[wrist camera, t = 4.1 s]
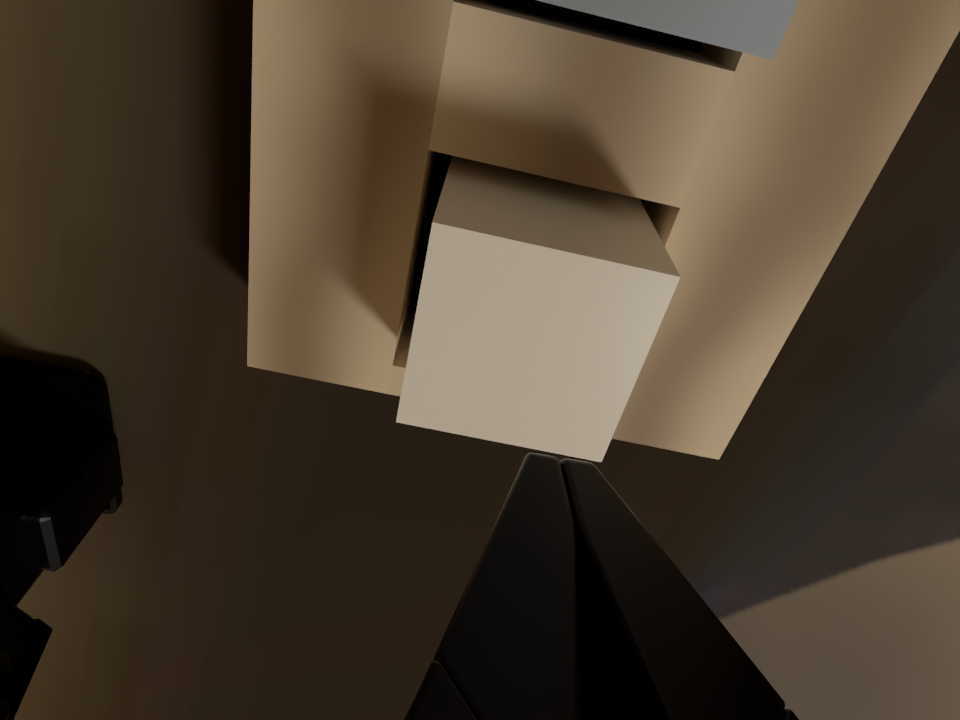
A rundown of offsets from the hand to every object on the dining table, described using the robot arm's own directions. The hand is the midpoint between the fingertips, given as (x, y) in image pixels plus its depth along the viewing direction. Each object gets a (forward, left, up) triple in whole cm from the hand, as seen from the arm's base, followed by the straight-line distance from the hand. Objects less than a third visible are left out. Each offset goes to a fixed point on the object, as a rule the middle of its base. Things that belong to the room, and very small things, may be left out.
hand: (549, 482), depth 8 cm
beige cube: (0, -2, -11) cm, 11 cm away
